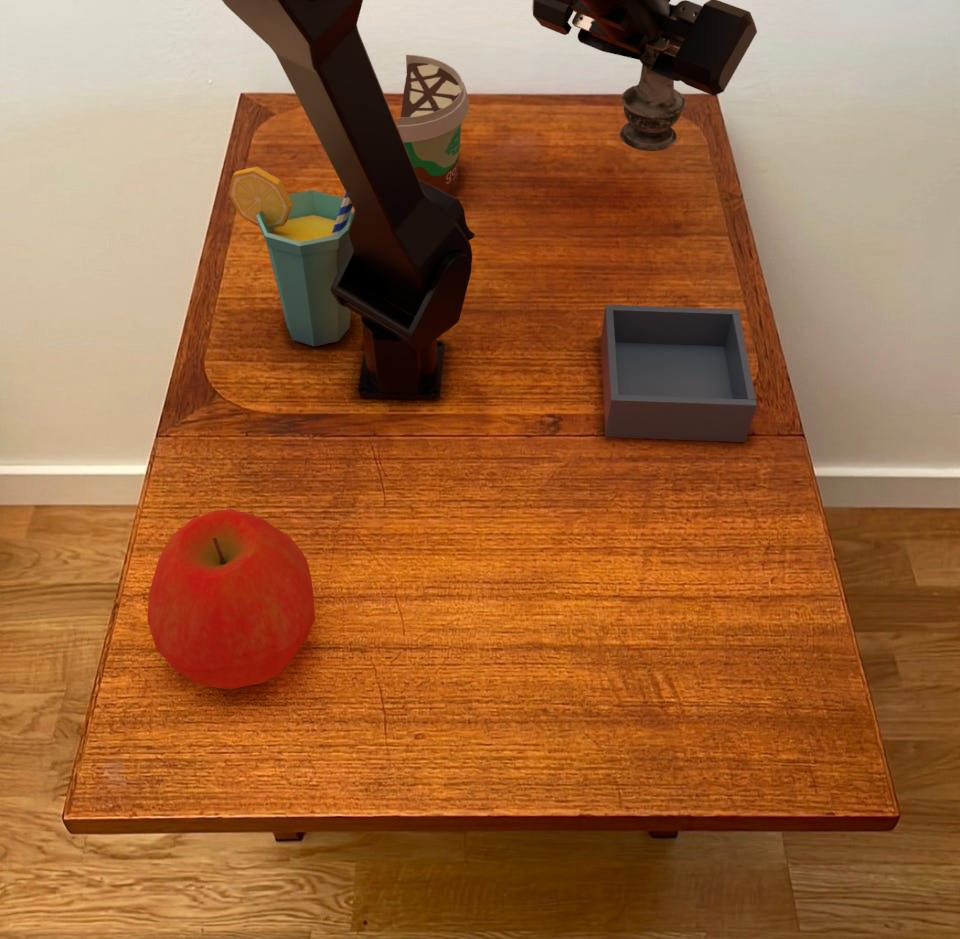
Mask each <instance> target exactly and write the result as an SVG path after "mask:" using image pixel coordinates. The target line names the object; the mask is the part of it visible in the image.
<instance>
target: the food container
mask: <svg viewBox="0 0 960 939" xmlns="http://www.w3.org/2000/svg"><path fill="white" fill-rule="evenodd" d="M405 63H406V75H405V81H404V83H405V84H404V86H403V87H404V88H403V94H402V95H403V96H402V104H401V112H400V117H397V119H396V122H397V123H396V125H397V128H398V130H399V133H400V135H401V137H402V140H403V142H404V145H405V147H406V150H407V152H408V155H409V157H410V160H411V162H412V165H413V167H414V170H415V172H416V174H417V177H418V179H420V180H422V181H424V182H426V183H427V184H429V185H431V186H433V187H435V188H437V189H439V190H441V191H443V192H445V193H447V194H449V195H452V194H453V193H454V191H455V189H456V188H457V186H458V181H459V180H458V178H459V164H460V150H461V136H462V135H461V134H462V123H463V122H464V120H465V119H466V118H467V116H468V114H469V110H470V101H469V95H468V92H467V88H466V85H465V83H464V81H463V80H462V76H461V75H460V73H459V72H458V71H457V70H455V68H454V67H452V66H450V65H449V64H447V63H446V62H443V61H441V60H439V59H435V58H432V57H428V56H424V55H418V54H417V55H415V54H405Z"/></svg>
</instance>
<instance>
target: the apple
mask: <svg viewBox="0 0 960 939" xmlns="http://www.w3.org/2000/svg"><path fill="white" fill-rule="evenodd" d="M314 596H315V595H314V588H313V581H312V575H311V571H310V568H309V563H308V558H306V556H305V554H304V552H303V551H302V549H301V548H300V547H299V545H298V544H297V543H296V542H295V541H294V540H293V539H292V538H291V536H289V535H287V534H286V533H285V532H283V531H281V529H279V528H277V527H276V526H274V525H273V524H271V523H270V522H268V521H267V520H266V519H264V518H262V517H259V516H257V515H255V514H252V513H247V512H243V511H238V510H234V509H230V508H229V509H215V510H213V511H210V512H208V513H204V514H202V515H200V516H197V517H195V518H192V519H191V520H189V521H188V522H187V523H186V524H184V525H183V526H182V527H181V528H179V529H178V530H176V531H175V532H174V533H173V534H172V535H171V537H170V538H169V540H168V541H167V543H166V545H165V546H164V548H163V549H162V551H161V553H160V555H159V558H158V559H157V563H156V567H155V570H154V573H153V578H152V581H151V584H150V588H149V592H148V603H147V623H148V627H149V631H150V634H151V637H152V639H153V643H154V645H155V648H156V650H157V652H158V653H159V654H160V655H161V656H162V657H163V658H164V659H165V661H166V662H167V663H168V664H169V665H170V666H171V667H172V668H173V669H174V670H175V671H176V672H178V673H179V674H181V675H182V676H184V677H185V678H187V679H188V680H190V681H191V682H193V683H196V684H199V685H202V686H205V687H208V688H209V687H210V688H218V689H224V690H234V689H240V688H244V687H248V686H254V685H259V684H263V683H266V682H267V681H269V680H270V679H272V678H274V677H275V676H277V675H279V674H280V673H281V672H282V671H283V670H284V669H285V668H286V667H287V666H288V664H289V663H290V662H291V660H292V659H293V658H294V656H295V655H296V653H297V652H298V651H299V650H300V648H301V646H302V645H303V644H304V642H306V640H307V639H308V636H309V635H310V633H311V630H312V627H313V626H314V623H315V621H316V614H315V613H316V612H315V611H316V610H315V597H314Z"/></svg>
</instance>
